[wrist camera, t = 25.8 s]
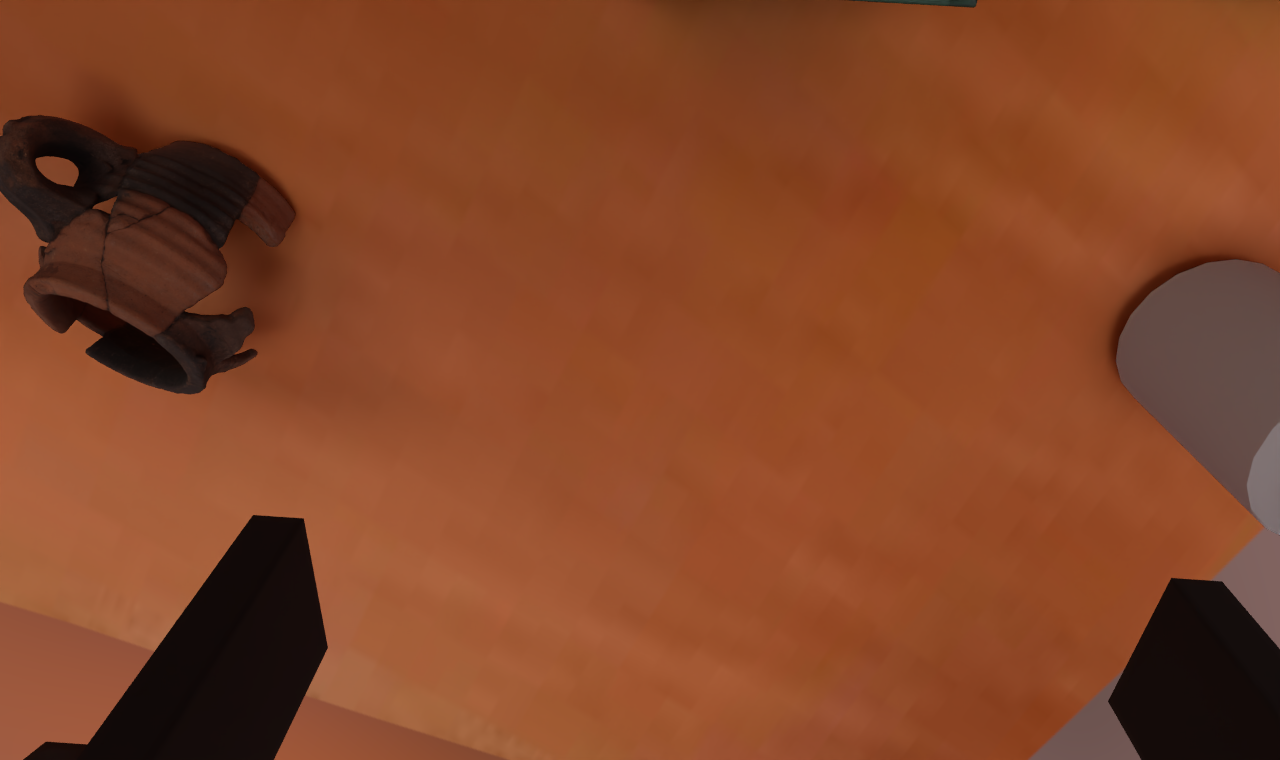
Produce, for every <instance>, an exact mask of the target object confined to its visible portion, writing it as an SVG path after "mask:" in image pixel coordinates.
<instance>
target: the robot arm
mask: <svg viewBox="0 0 1280 760" xmlns="http://www.w3.org/2000/svg"><path fill="white" fill-rule="evenodd" d="M327 648H328V646H327V641H326V635H325V630H324V625H323V619H322V614H321V609H320V603H319V598H318V593H317V587H316V582H315V577H314V571H313V566H312V560H311V555H310V550H309V544H308V539H307V534H306V528H305V523H304V519H302V518H287V517H273V516H258V515H253V516H252V517H251V519H250V520H249V522H248V523H247V524H246V526H245V527H244V528H243V530H242V531H241V533H240V534H239V535H238V537H237V538H236V540H235V541H234V542H233V544H232V545H231V546H230V548H229V549H228V551H227V552H226V553H225V555H224V556H223V558H222V559H221V560H220V562H219V563H218V564H217V566H216V567H215V569H214V570H213V571H212V573H211V574H210V576H209V577H208V578H207V580H206V581H205V582H204V584H203V585H202V587H201V588H200V589H199V591H198V592H197V594H196V595H195V596H194V598H193V599H192V601H191V602H190V603H189V605H188V606H187V607H186V609H185V610H184V612H183V613H182V614H181V616H180V617H179V619H178V620H177V621H176V623H175V624H174V625H173V627H172V628H171V630H170V631H169V632H168V634H167V635H166V637H165V638H164V639H163V641H162V642H161V643H160V645H159V646H158V648H157V649H156V650H155V652H154V653H153V655H152V656H151V657H150V659H149V660H148V661H147V663H146V664H145V666H144V667H143V668H142V670H141V671H140V673H139V674H138V675H137V677H136V678H135V679H134V681H133V682H132V684H131V685H130V686H129V688H128V689H127V691H126V692H125V693H124V695H123V696H122V698H121V699H120V700H119V702H118V703H117V704H116V706H115V707H114V709H113V710H112V711H111V713H110V714H109V716H108V717H107V718H106V720H105V721H104V723H103V724H102V725H101V727H100V728H99V729H98V731H97V732H96V734H95V735H94V736H93V738H92V739H91V741H90V742H89V743H88V745H86V744H72V743H57V742H45V743H44V744H42V745H41V746H40V747H39V748H37V749H36V750H35V751H34V752H32V753H31V754H30V755H29V756H27V757H26V758H25V759H23V760H274V758H275V756H276V754H277V752H278V750H279V748H280V746H281V744H282V742H283V740H284V737H285V735H286V733H287V731H288V729H289V727H290V725H291V723H292V721H293V719H294V717H295V715H296V712H297V711H298V708H299V706H300V704H301V702H302V700H303V698H304V696H305V694H306V692H307V690H308V688H309V686H310V684H311V682H312V679H313V677H314V675H315V673H316V671H317V669H318V667H319V665H320V663H321V661H322V659H323V657H324V655H325V652H326V650H327ZM1108 702H1109V704H1110V706H1111V707H1112V709H1113V711H1114V713H1115V714H1116V716H1117V717H1118V720H1119V721H1120V723H1121V725H1122V726H1123V728H1124V730H1125V731H1126V733H1127V735H1128V737H1129V738H1130V740H1131V742H1132V744H1133V745H1134V747H1135V749H1136V751H1137V753H1138V754H1139V756H1140V758H1141V760H1280V649H1279V648H1278V647H1277V645H1276V644H1275V643H1274V642H1273V641H1272V640H1271V638H1270V637H1269V636H1268V635H1267V634H1266V633H1265V631H1264V630H1263V629H1262V628H1261V627H1260V625H1259V624H1258V623H1257V622H1256V621H1255V620H1254V618H1253V617H1252V616H1251V615H1250V614H1249V613H1248V611H1246V609H1245V608H1244V607H1243V606H1242V605H1241V603H1240V602H1239V601H1238V600H1237V599H1236V597H1235V596H1234V595H1233V594H1232V593H1231V592H1230V590H1229V589H1228V588H1227V587H1226V586H1225V585H1224V583H1223V582H1219V581H1206V580H1191V579H1177V578H1171V580H1170V582H1169V584H1168V586H1167V588H1166V590H1165V591H1164V593H1163V595H1162V597H1161V599H1160V601H1159V603H1158V605H1157V607H1156V609H1155V611H1154V613H1153V615H1152V617H1151V619H1150V621H1149V623H1148V625H1147V627H1146V628H1145V630H1144V632H1143V634H1142V636H1141V638H1140V640H1139V642H1138V644H1137V646H1136V648H1135V650H1134V652H1133V654H1132V656H1131V658H1130V660H1129V662H1128V664H1127V665H1126V667H1125V669H1124V671H1123V673H1122V675H1121V677H1120V679H1119V681H1118V683H1117V685H1116V687H1115V689H1114V691H1113V693H1112V695H1111V697H1110V699H1109V701H1108Z"/></svg>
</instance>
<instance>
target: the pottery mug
mask: <svg viewBox="0 0 1280 760" xmlns="http://www.w3.org/2000/svg"><path fill="white" fill-rule="evenodd" d="M44 156H50V157H51V156H54V157H60V158H65V159H68V160H70V161H72V162H73V163H74V164H75V165H76V166H77V168H78V170H79V176H78V179H77V181H76V183H75V184H74V187H72V186H67V185H60V184H56V183H54V182H52V181H50V180H49V179H47V178H46V177H45V176H44V175H43V174H42V173H41V172H40V171H39V170H38V168H37V166H36V162H35V160H36V158H38V157H44ZM0 191H1V193H2V194H3V195H4V196H5V197H6V198H7V199H8V200H9V202H10V203H12V204H13V205H14V206H15V207H16V208H17V209H18V210H20V211H21V212H22V213H23V214H24V215H25V216H26V217H27V218H28V219H29V220H30V222H31V223H32V225H33V227H34V229H35V231H36V234H37V236H38V237H39V239H41V240H42V241H44V242H47V243H49V244H48V246H47V247H44V246H40V247H39V264H40V270H39V271H38V272H37V273H36V274H35V275H34V276H32V277H30V278H29V279H28V280H27V282H26V283H25V284H24V287H23V288H24V296H25V298H26V301H27V302H28V303H29V304H30V306H31V308H32V309H33V310H34V311H35V313H36V314H37V315H38V316H39V317H40V318H41V319H42V320H43V321H44V322H45V323H46V324H47V325H48V326H49V327H51V328H52V329H53V330H55V331H56V332H59V333H64V332H66V331H67V330H68V329H69V327H70V326H71V325H72V324H73V323H74V322H75V321H76V320H78V321H79V322H81V323H82V324H83V325H85V326H86V327H88V328H89V329H91V330H93V331H95V332H96V333H98V334H100V335H101V336H103V338H101V339H99V340H98V341H97V342H95V343H94V344H93V345H92V346H91V347H89V348H87V349H86V354H87V355H89V356H90V357H92V358H94V359H95V360H97V361H98V362H100V363H102V364H104V365H105V366H107V367H109V368H111V369H113V370H115V371H117V372H119V373H121V374H123V375H125V376H127V377H129V378H132V379H134V380H136V381H139V382H141V383H144V384H146V385H149V386H152V387H156V388H159V389H161V388H162V389H164V390H167V391H170V392H174V393H178V394H179V393H184V394H195V393H200V392H201V391H202V390H203V389H205V388H206V384H207V381H208V379H209V378H210V377H211V375H214V374H216V373H221V372H226V371H228V370H230V369H233V368H236V367H238V366H241V365H243V364H245V363H246V362H248V361H249V360H251V359H252V358H254V357H255V356H257V351H256V350H254V349H249V350H247V351H245V352H242V353H239V354H236V355H234V354H235V352H237V351H238V350H240V348H241V347H242V345H243V342H244V340H245V338H246V337H247V336H248V335H250V334H251V333H252V332H253V330H254V327H255V324H254V318H253V313H252V311H251V310H250V309H249V308H247V307H243V308H240V309H237V310H236V311H234V312H232V313H231V314H230V315H223V314H221V315H200V314H195V313H188V312H185V310H186V309H188V308H190V307H192V306H193V305H195V304H196V303H197V302H198V301H200V300H201V299H203V298H205V297H206V296H208V295H209V294H210V293H212V292H213V291H216V290H217V289H218V288H220V287H221V286H222V285H223V283H224V279H225V277H226V274H227V264H226V261H225V259H224V257H223V255H222V254H221V252H220V250H219V249H220V248H221V247H222V246H223V245H224V243H225V242H226V239H227V236H228V234H229V231H230V230H231V228H232V226H233V224H234V221H235V220H236V219H239V220H240V221H241V222H242V223H244V224H245V225H247V226H249V227H250V229H251V230H252V231H254V232H255V233H256V234H257V235H258V236H259V237H260V238H261V239H262V240H263V241H264V242H265V243H266V245H267V246H269V247H275V246H278V245H279V244H280V243H281V242H282V241H283V239H284V237H285V233H286V231H287V229H288V228H289V227H290V225H291V223H292V221H293V219H294V218H295V213H294V211H293V209H292V208H291V207H290V205H289V204H288V202H287V201H286V200H285V199H284V198H283V197H282V196H281V195H280V194H279V192H278V191H277V190H276V189H275V188H274V187H272V186H271V185H270V184H269V183H267V182H266V181H265V180H264V179H262V178H261V177H260V176H259V175H258V174H257V173H256V172H254V171H253V170H251V169H250V168H249V167H247V166H245V165H244V164H242V163H241V162H240V161H239V160H238V159H237V158H235V157H232V156H230V155H227V154H226V153H224V152H222V151H221V150H219V149H217V148H213V147H211V146H209V145H206V144H201V143H195V142H190V141H176V142H173V143H171V144H170V145H167V146H164V147H161V148H158V149H154V150H151V151H149V152H147V153H141V154H137V149H136V148H133V147H126V146H122V145H120V144H118V143H116V142H114V141H112V140H111V139H110V138H108V137H106V136H105V135H103V134H101V133H99V132H97V131H95V130H93V129H91V128H89V127H87V126H84V125H82V124H79V123H75V122H72V121H70V120H66V119H62V118H58V117H52V116H42V115H38V116H26V117H22V118H21V119H17V120H9V121H8V122H7V123H6V124H5V125H4V127H3V136H0ZM116 196H117V199H116V201H115V202H114V205H113V208H112V210H111V214H108V213H106V212H104V211H102V210H98V209H92V208H93V206H94V205H96V204H98V203H101V202H104V201H107V200H109V199H111V198H113V197H116Z"/></svg>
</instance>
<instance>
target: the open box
mask: <svg viewBox="0 0 1280 760" xmlns="http://www.w3.org/2000/svg"><path fill="white" fill-rule="evenodd" d="M850 1H868V2H885V3H903V4H920V5H938V6H955V7H975V6H976V4H977V0H850Z"/></svg>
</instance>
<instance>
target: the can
mask: <svg viewBox="0 0 1280 760" xmlns="http://www.w3.org/2000/svg"><path fill="white" fill-rule="evenodd" d="M1116 364H1117V368H1118V372H1119V375H1120V379H1121V382H1122V383H1123V385H1124V386H1125V387H1126V388H1127V389H1128V391H1129V392H1130V393H1131V394H1132V396H1133V397H1134V398H1135V399H1136V400H1137V401H1138V402H1139V403H1140V404H1141V405H1142V406H1143V407H1144V408H1145V409H1146V410H1147V411H1148V412H1149V413H1150V414H1151V415H1152V416H1153V417H1154V418H1155V419H1156V420H1157V421H1158V422H1159V423H1160V424H1161V425H1162V426H1163V427H1164V428H1165V429H1166V430H1167V431H1168V432H1169V433H1170V434H1171V435H1172V436H1173V437H1174V438H1175V439H1176V440H1177V441H1178V442H1179V443H1180V444H1181V445H1182V446H1183V447H1184V448H1185V449H1186V450H1187V451H1188V452H1189V453H1190V454H1191V455H1192V456H1193V457H1194V458H1195V459H1196V460H1197V461H1198V462H1199V463H1201V464H1202V465H1203V466H1204V467H1205V468H1206V469H1207V470H1208V471H1209V472H1210V473H1211V474H1212V475H1213V476H1214V477H1215V478H1216V479H1217V480H1218V481H1219V482H1220V483H1221V484H1222V485H1223V486H1224V487H1225V488H1226V489H1227V490H1228V491H1229V492H1230V493H1231V494H1232V495H1233V496H1234V497H1235V498H1236V499H1237V500H1238V501H1239V502H1240V503H1241V504H1242V505H1243V506H1244V507H1245V508H1246V509H1247V510H1248V511H1249V512H1250V513H1251V514H1252V515H1253V516H1254V517H1255V518H1256V519H1257V520H1258V521H1259V522H1260V523H1261V524H1262V525H1263V526H1264V527H1265V528H1266V529H1268V530H1270V531H1272V532H1274V533H1276V534H1278V535H1280V273H1279V272H1277V271H1275V270H1273V269H1271V268H1269V267H1268V266H1266V265H1264V264H1261V263H1255V262H1249V261H1244V260H1238V259H1234V260H1226V261H1218V262H1209V263H1205V264H1202V265H1200V266H1197V267H1195V268H1192V269H1189V270H1187V271H1184V272H1182V273H1179V274H1177V275H1175V276H1174V277H1172V278H1171V279H1169V280H1168V281H1167V282H1165V283H1164V284H1162V285H1161V286H1159V287H1158V288H1156V289H1155V290H1153V291H1152V292H1151V293H1150V294H1149V295H1148V296H1147V297H1146V298H1145V299H1144V300H1143V302H1142V303H1141V304H1140V305H1139V306H1138V307H1137V308H1136V309H1135V310H1134V312H1133V313H1132V314H1131V315H1130V317H1129V319H1128V321H1127V323H1126V325H1125V327H1124V329H1123V331H1122V333H1121V335H1120V337H1119V343H1118V350H1117V356H1116Z"/></svg>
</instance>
